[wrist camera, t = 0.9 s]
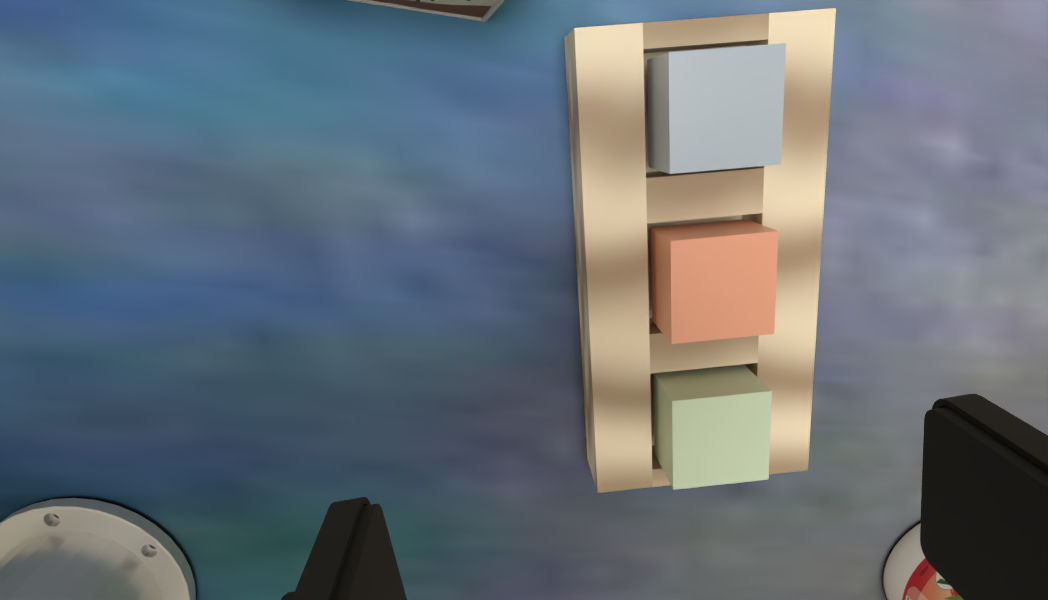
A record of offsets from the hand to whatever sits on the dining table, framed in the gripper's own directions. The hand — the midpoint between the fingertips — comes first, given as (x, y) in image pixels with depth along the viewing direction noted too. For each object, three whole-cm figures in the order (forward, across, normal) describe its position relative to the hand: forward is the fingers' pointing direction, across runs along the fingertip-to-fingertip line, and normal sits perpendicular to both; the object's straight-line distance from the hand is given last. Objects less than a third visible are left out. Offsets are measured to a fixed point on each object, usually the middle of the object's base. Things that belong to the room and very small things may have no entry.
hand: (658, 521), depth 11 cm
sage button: (+22, -7, +11) cm, 25 cm away
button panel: (+25, -8, +3) cm, 26 cm away
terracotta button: (+22, -8, +3) cm, 24 cm away
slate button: (+22, -8, -5) cm, 24 cm away
